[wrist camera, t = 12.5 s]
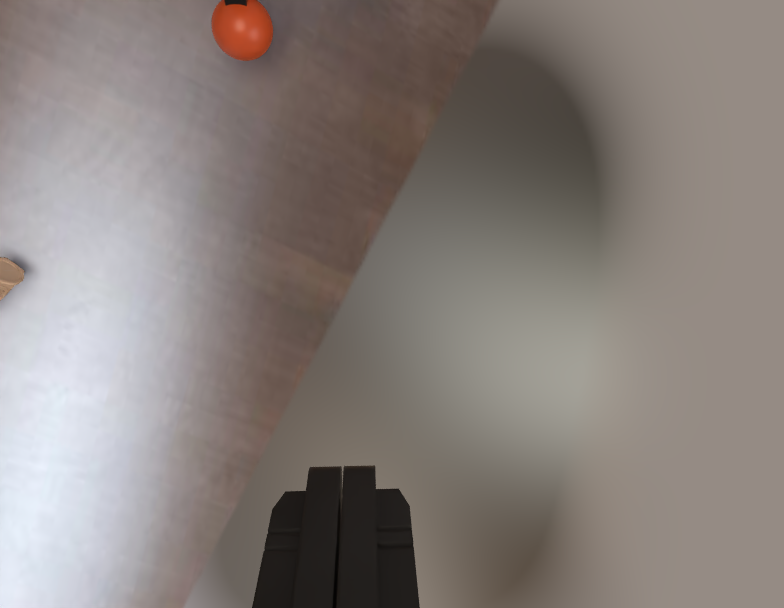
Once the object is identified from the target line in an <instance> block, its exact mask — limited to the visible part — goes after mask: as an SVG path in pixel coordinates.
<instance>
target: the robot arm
mask: <svg viewBox="0 0 784 608" xmlns="http://www.w3.org/2000/svg"><path fill="white" fill-rule="evenodd" d="M375 481H376V480H375V466H344V471H343V489H342V467H341V466H340V467H310V468H309V473H308V480H307V487H306V491H291V492H285V493H284V494H283V496H282V497H281V499H280V500H279V501H278V502H277V504H276V505H275V507H274V508H273V510H272V514H271V519H270V523H269V528H268V534H267V538H266V543H265V551H264V553H263V558H262V562H261V567H260V572H259V577H258V582H257V587H256V592H255V597H254V601H253V606H252V608H420V607H419V597H418V587H417V577H416V567H415V557H414V547H413V537H412V528H411V517H410V506H409V504H408V503H407V501H406V500H405V498H404V496H403V495H402V494H401V492H400V490H399V489H376V484H375V483H376V482H375Z"/></svg>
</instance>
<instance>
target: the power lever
mask: <svg viewBox="0 0 784 608" xmlns="http://www.w3.org/2000/svg"><path fill="white" fill-rule="evenodd" d="M212 32H213V35H214V38H215V40H216V42H217V44H218V45H219V47H220V48H221V49H222V50H223V51H224V52H225V53H226V54H228V55H229V56H231V57H233V58H235V59H238V60H242V61H249V60H254V59H257V58H259V57H260V56H262V55H263V54H264V53H265V52H266V51H267V50H268V48H269V46H270V44H271V41H272V37H273V26H272V21H271V18H270V16H269V14H268V12H267V10H266V9H265V8H264V6H263V5H262V4H261V3H260V2H258V1H257V0H221V1H220V2H219V4H218V5H217V6H216V8H215V10H214V12H213V15H212Z"/></svg>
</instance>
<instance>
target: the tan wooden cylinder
mask: <svg viewBox="0 0 784 608" xmlns="http://www.w3.org/2000/svg"><path fill="white" fill-rule="evenodd" d="M24 272H25V271H24V270H23V269H21V268H20V267H19V266H17V265H16V264H15V263H13V262H12V261H10V260H9V259H7V258H5V257H4V258H2V257H0V288H1V289H0V300H1V299H2V298H3V297H5V296H6V294H7V293H8V292H9V291H10V290H11V289H12V288H13V287H14V285H17V284H19V283H20V282H22V281H23V279H24Z"/></svg>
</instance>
